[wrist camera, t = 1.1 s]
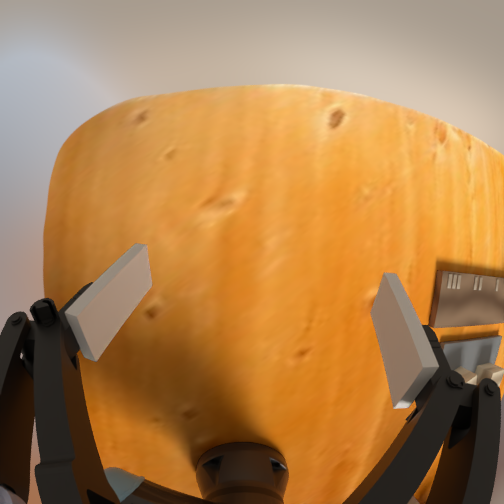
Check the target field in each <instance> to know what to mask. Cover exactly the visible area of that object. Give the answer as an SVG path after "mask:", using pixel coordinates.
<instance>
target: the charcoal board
mask: <svg viewBox="0 0 504 504" xmlns="http://www.w3.org/2000/svg"><path fill="white" fill-rule="evenodd" d="M501 339H502V336H500V335H496V336H489V337H482V338H475V339H467V340H458V341H448V342H441V343H440V345H441V348H442V349H443V352H444V354H445V356H446V359H447V361H448V363H449V366H450V368H451V370H455V369H457V368H459V367H460V366H461V367H463V368H465V369H467V370H469V371H471V372H473V373H475V371H476V368H477V366H478V365H482V364H486V363H492V364H495V361H496V357H497V354H498V350H499V346H500V343H501Z"/></svg>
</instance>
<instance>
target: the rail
mask: <svg viewBox="0 0 504 504" xmlns="http://www.w3.org/2000/svg"><path fill="white" fill-rule="evenodd" d="M498 323H504V278H499V277H491V276H482V275H474V274H466V273H457V272H449V271H440V270H437V277H436V285H435V292H434V299H433V305H432V311H431V316H430V321H429V326H430V327H433V328H444V327H461V326H475V325H487V324H498Z"/></svg>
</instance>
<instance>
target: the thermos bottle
mask: <svg viewBox="0 0 504 504" xmlns="http://www.w3.org/2000/svg"><path fill="white" fill-rule="evenodd" d="M408 504H419V502H418V501H417V500H416V498H415V497H414V496H412V498H411V499H410V501H409V502H408Z"/></svg>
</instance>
